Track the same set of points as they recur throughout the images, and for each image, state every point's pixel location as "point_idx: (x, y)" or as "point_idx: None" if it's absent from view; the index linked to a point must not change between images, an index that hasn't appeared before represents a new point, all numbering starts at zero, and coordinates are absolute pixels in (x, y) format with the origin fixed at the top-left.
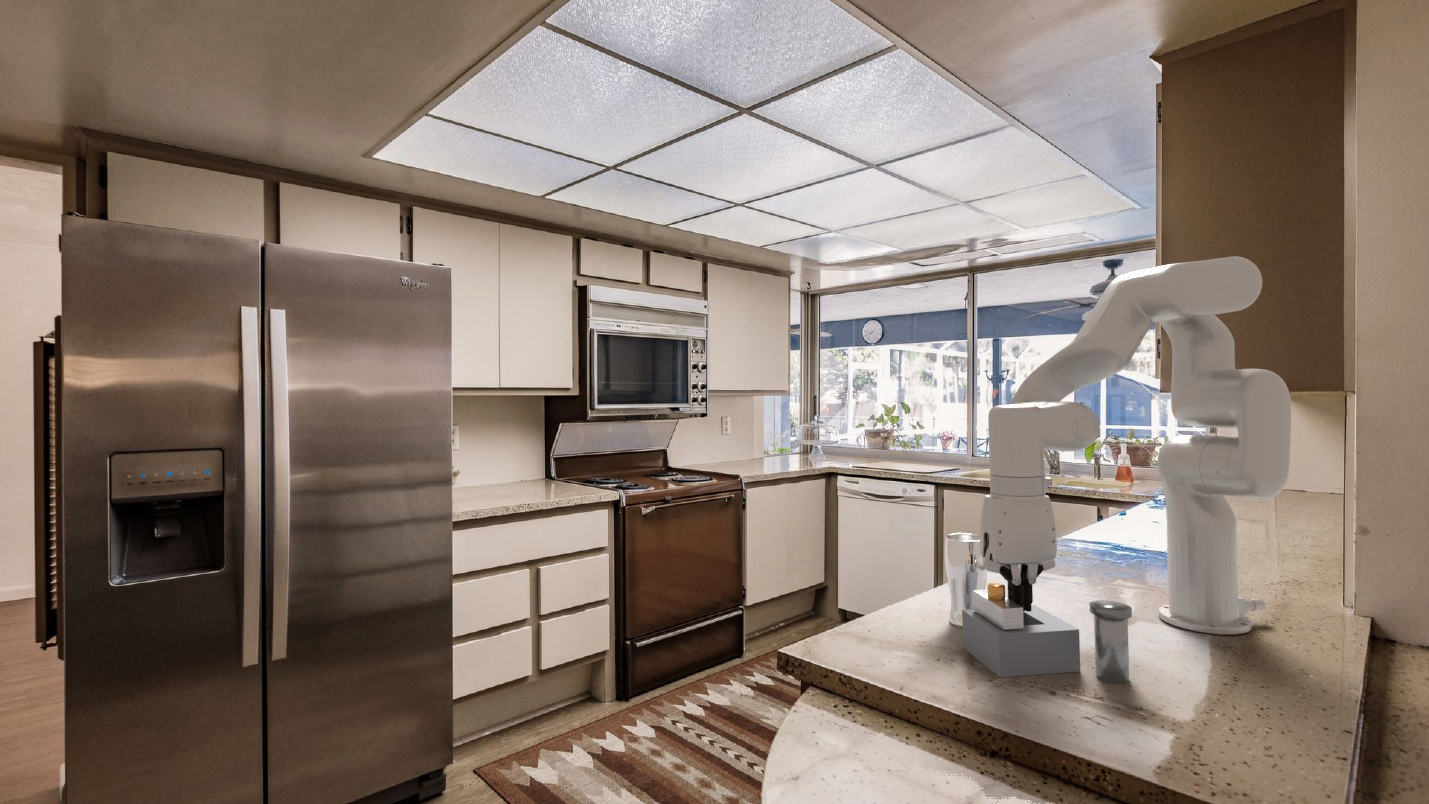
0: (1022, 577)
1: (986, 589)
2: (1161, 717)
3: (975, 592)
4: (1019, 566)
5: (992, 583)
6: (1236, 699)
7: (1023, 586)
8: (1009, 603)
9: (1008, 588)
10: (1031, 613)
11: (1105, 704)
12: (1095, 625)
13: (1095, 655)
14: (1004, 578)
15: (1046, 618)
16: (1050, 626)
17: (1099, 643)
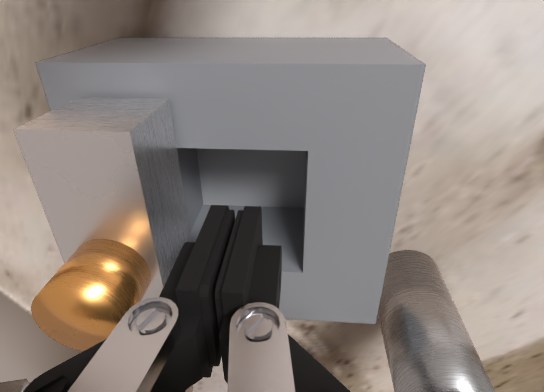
0: (226, 367)
1: (102, 130)
2: (354, 382)
3: (27, 164)
4: (228, 385)
5: (63, 297)
6: (538, 371)
7: (208, 372)
8: None
9: (167, 288)
10: (326, 171)
11: (300, 344)
12: (398, 378)
13: (384, 299)
14: (131, 313)
15: (345, 231)
16: (305, 291)
17: (385, 347)
